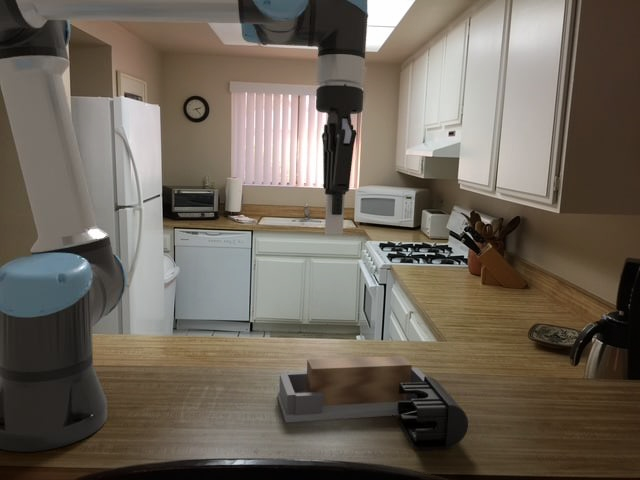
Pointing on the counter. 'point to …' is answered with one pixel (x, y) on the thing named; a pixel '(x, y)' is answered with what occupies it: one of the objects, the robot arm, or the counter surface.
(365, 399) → the wooden block
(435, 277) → the counter surface
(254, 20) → the robot arm
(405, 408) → the end cap
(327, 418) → the holder
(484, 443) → the counter surface
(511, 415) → the counter surface
